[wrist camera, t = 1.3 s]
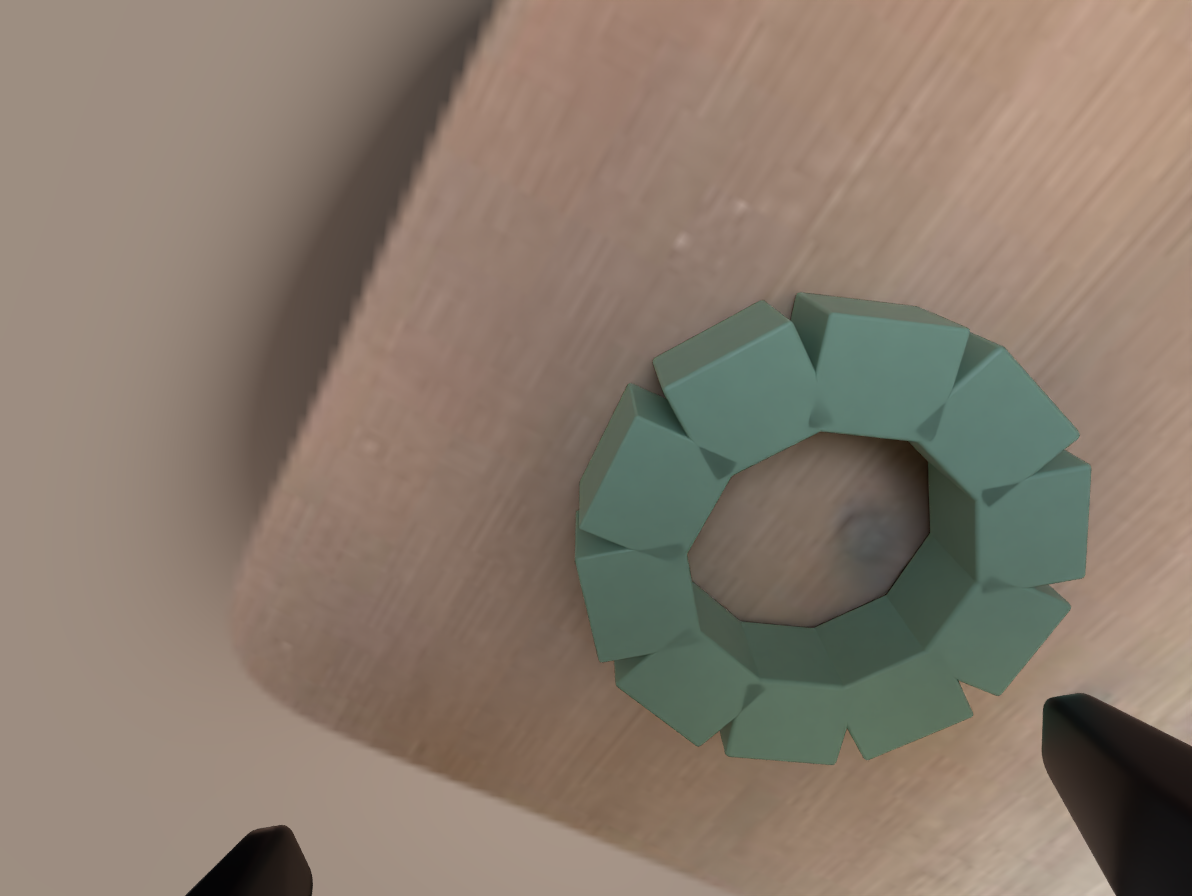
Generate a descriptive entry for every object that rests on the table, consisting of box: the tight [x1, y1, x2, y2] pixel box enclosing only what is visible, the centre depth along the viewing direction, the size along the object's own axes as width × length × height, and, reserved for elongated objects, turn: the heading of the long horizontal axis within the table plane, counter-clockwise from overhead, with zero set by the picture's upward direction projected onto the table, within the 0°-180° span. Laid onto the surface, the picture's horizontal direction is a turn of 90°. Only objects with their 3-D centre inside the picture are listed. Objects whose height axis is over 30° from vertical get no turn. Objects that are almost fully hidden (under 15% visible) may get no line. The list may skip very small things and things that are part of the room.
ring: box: [575, 292, 1091, 765], centre depth 13 cm, size 8×8×2 cm
